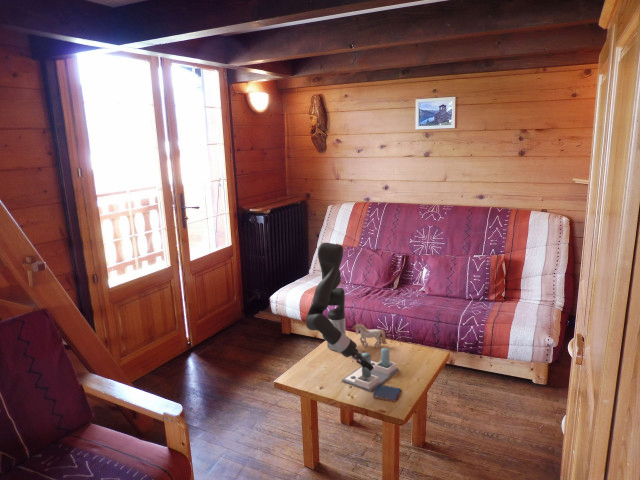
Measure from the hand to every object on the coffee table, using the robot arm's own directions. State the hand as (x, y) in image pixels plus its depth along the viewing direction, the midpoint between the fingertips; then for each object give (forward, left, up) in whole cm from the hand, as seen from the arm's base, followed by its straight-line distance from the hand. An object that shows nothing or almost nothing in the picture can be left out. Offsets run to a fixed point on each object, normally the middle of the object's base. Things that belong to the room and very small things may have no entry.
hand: (370, 366), depth 204 cm
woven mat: (+10, -3, -10) cm, 14 cm away
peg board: (-4, +7, -9) cm, 12 cm away
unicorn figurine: (-21, +31, -9) cm, 38 cm away
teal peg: (-1, -2, -4) cm, 4 cm away
